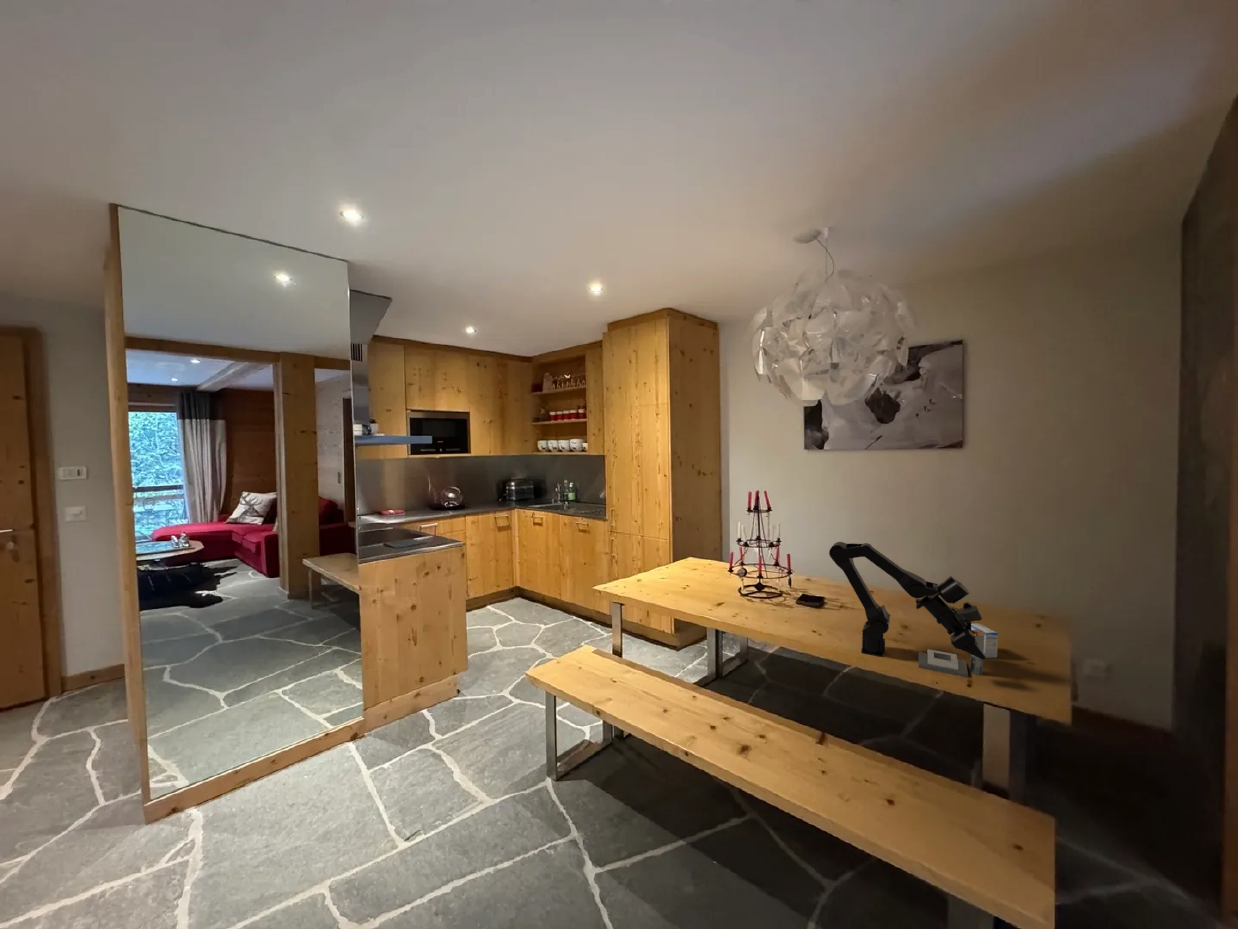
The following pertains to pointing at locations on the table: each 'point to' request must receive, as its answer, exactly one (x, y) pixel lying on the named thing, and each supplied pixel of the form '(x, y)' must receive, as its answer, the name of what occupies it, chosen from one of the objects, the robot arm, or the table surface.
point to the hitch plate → (960, 666)
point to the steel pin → (975, 662)
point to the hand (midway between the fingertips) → (982, 652)
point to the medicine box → (988, 640)
